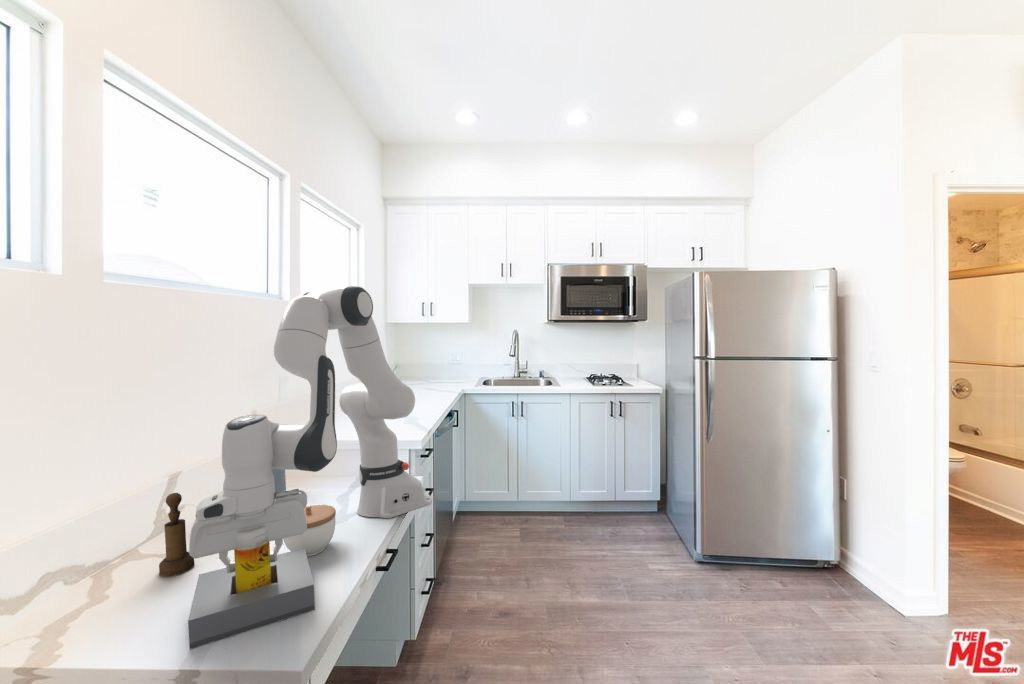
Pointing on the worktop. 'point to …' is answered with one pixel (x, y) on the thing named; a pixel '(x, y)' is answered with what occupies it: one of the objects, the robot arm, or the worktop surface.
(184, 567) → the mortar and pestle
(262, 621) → the can dock
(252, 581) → the beer can
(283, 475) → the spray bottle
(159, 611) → the worktop surface
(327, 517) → the lidded bowl
